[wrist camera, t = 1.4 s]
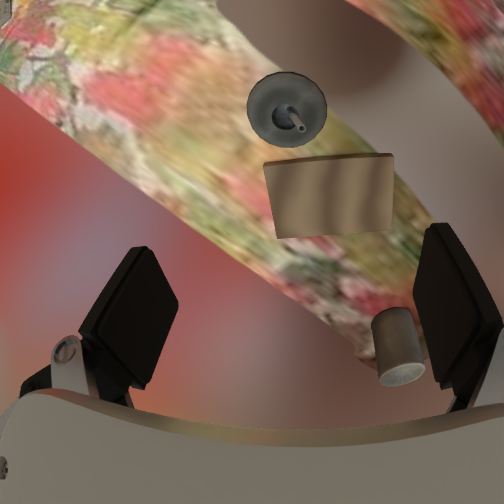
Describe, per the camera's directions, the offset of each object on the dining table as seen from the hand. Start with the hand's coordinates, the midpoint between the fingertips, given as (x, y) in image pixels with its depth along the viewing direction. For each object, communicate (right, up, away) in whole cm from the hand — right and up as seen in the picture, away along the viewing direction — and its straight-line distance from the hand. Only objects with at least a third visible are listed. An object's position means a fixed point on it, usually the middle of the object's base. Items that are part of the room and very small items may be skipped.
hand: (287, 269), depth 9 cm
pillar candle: (+29, -14, +46) cm, 56 cm away
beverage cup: (+4, +20, +23) cm, 31 cm away
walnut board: (+10, +9, +30) cm, 33 cm away
